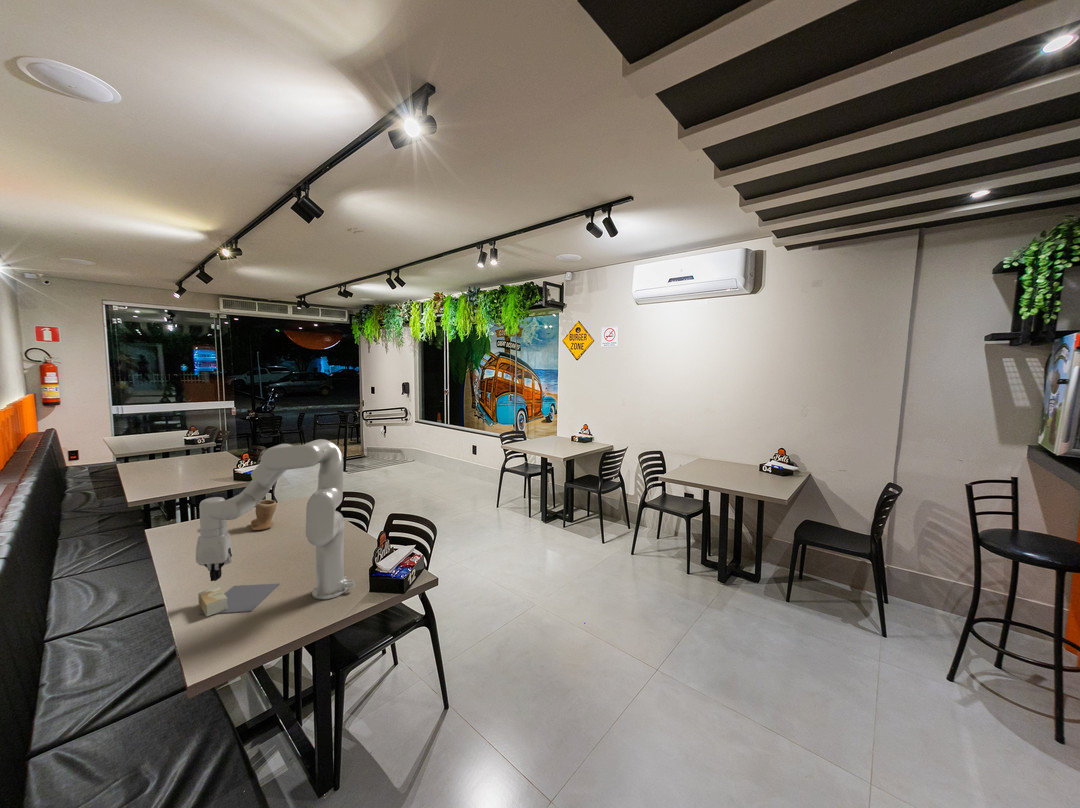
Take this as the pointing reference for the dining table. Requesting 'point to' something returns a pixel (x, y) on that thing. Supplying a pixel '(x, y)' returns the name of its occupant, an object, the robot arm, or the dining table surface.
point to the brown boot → (264, 515)
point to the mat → (246, 597)
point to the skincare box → (212, 601)
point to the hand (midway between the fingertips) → (215, 579)
